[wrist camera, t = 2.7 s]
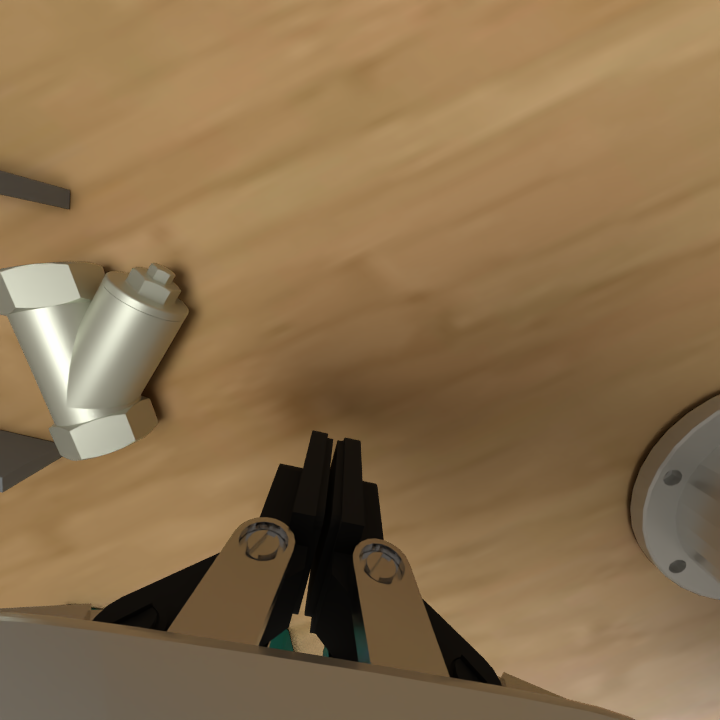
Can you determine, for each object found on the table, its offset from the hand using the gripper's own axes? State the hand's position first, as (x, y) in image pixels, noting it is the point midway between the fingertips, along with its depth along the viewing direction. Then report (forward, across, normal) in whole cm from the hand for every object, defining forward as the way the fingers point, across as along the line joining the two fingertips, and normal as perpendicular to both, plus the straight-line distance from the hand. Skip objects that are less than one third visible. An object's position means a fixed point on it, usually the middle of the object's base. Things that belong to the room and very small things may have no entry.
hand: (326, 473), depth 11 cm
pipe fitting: (+7, +10, -1) cm, 12 cm away
